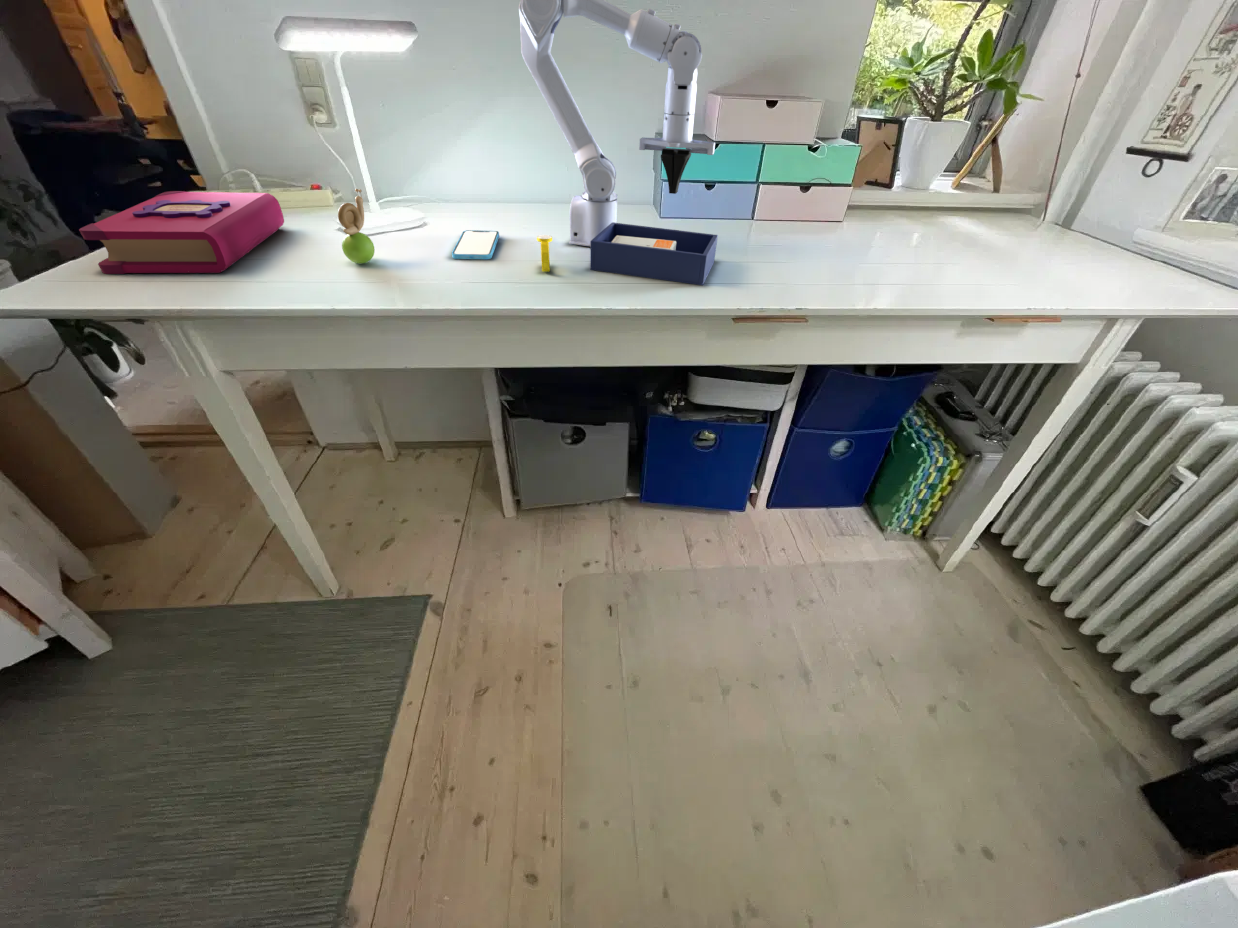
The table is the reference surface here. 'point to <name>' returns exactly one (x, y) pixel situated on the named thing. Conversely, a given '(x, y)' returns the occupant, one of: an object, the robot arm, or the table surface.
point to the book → (185, 232)
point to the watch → (545, 251)
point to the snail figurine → (355, 232)
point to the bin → (654, 254)
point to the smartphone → (476, 245)
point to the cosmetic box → (646, 242)
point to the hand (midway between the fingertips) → (673, 192)
